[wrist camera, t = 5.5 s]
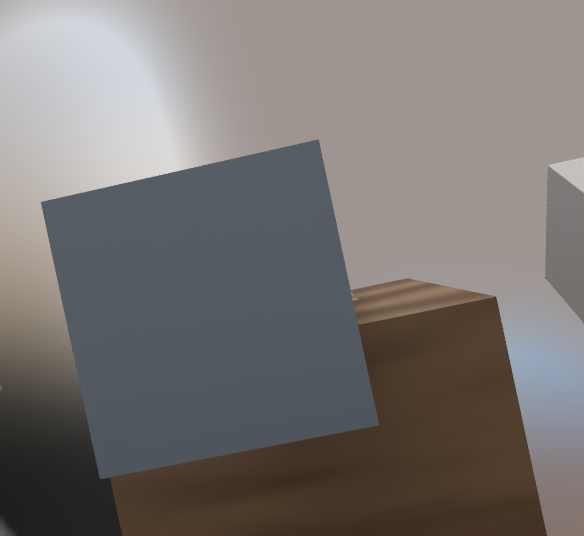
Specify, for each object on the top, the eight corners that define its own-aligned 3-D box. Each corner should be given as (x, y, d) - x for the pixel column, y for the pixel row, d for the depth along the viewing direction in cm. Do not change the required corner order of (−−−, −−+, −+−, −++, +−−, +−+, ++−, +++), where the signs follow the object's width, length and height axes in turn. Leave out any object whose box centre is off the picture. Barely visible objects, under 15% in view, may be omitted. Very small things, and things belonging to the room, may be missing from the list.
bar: (378, 424, 8) (319, 139, 8) (100, 479, 8) (41, 202, 8) (335, 292, 38) (322, 234, 38) (277, 304, 38) (265, 247, 38)
